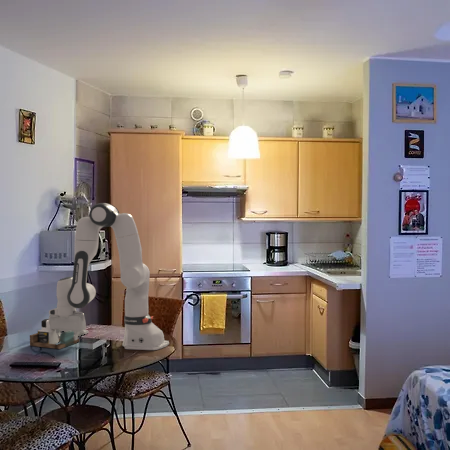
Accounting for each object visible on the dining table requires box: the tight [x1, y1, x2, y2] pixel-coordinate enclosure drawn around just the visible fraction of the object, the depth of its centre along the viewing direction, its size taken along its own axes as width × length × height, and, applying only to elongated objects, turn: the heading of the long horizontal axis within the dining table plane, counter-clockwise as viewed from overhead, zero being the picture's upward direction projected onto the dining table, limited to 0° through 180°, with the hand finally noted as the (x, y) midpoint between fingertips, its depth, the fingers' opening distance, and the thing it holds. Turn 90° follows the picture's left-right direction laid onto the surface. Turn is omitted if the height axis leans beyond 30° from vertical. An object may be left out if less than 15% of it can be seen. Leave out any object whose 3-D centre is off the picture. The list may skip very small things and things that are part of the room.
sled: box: [29, 331, 80, 350], centre depth 232 cm, size 18×14×6 cm
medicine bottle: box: [37, 318, 60, 344], centre depth 233 cm, size 7×7×12 cm
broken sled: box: [60, 329, 89, 337], centre depth 249 cm, size 19×14×4 cm
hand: (67, 339), depth 229 cm, fingers open, 8 cm apart
